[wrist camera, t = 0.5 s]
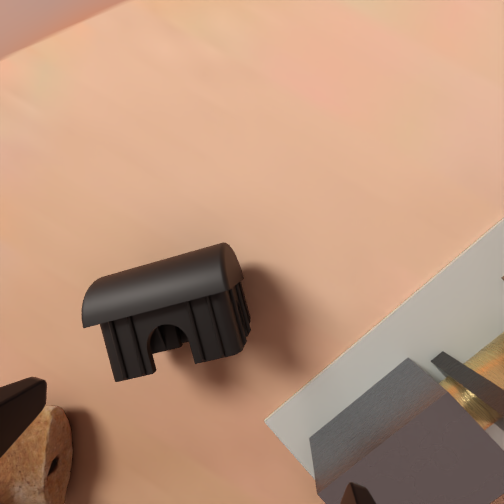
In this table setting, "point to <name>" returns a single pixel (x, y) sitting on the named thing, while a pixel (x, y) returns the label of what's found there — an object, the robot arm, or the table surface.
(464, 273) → the board
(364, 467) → the sleeve
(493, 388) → the sliding bolt
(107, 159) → the table surface
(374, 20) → the table surface
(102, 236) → the table surface
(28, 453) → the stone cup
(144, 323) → the end cap
